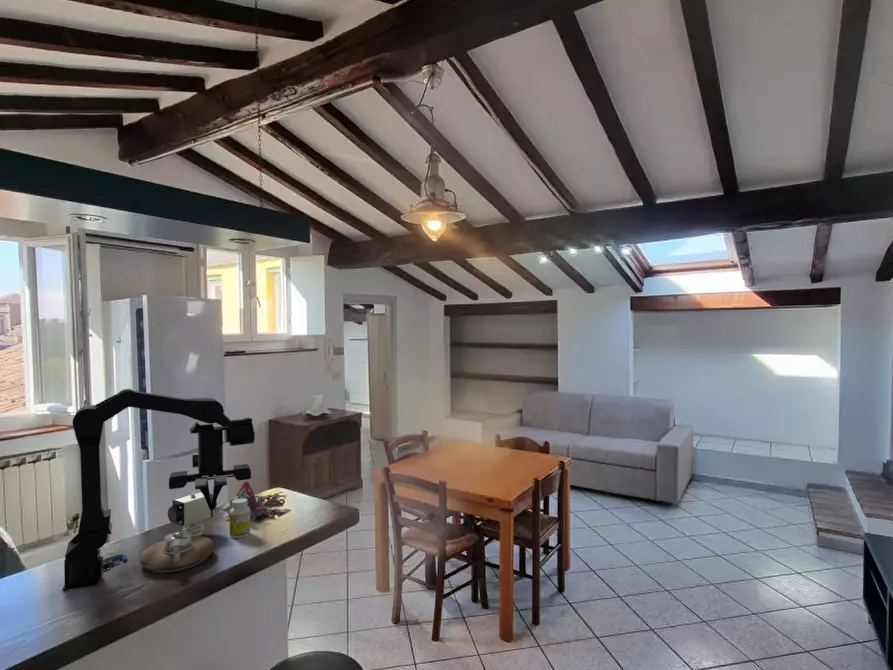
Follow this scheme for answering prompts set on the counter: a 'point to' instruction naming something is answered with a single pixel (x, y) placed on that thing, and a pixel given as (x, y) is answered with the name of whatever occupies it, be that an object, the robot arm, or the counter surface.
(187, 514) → the pneumatic valve
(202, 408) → the robot arm
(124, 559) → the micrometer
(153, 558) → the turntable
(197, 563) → the turntable base
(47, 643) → the counter surface
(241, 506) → the supplement bottle
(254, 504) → the brake caliper
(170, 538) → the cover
